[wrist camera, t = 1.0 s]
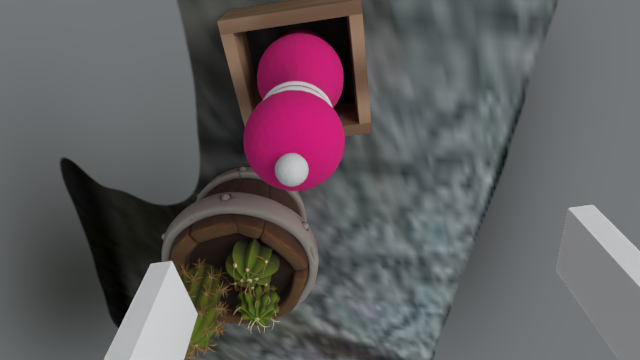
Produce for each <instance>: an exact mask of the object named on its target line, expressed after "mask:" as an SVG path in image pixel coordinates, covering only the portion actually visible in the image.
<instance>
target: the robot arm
mask: <svg viewBox="0 0 640 360" xmlns="http://www.w3.org/2000/svg"><path fill="white" fill-rule="evenodd" d="M556 272H557V273H558V275H559V276H560V277H561V279H562V280H563V282H564V283H565V284H566V286H567V287H568V289H569V290H570V292H571V293H572V294H573V296H574V297H575V299H576V300H577V302H578V303H579V305H580V306H581V307H582V309H583V310H584V312H585V313H586V314H587V316H588V317H589V319H590V320H591V322H592V323H593V324H594V326H595V327H596V328H597V330H598V332H599V333H600V334H601V336H602V337H603V339H604V340H605V341H606V343H607V344H608V346H609V347H610V348H611V350H612V351H613V353H614V354H615V356H616V357H617V359H618V360H640V251H639V250H638V249H637V248H636V247H635V246H634V245H633V244H632V243H631V242H630V241H629V240H628V239H627V238H626V237H625V236H624V235H623V234H622V233H621V232H620V231H619V230H618V229H617V228H616V227H615V226H614V225H613V224H612V223H611V222H610V221H609V220H608V219H607V218H606V217H605V216H604V215H603V214H602V213H601V212H600V211H599V210H598V209H597V208H596V207H595V206H594V205H587V206H580V207H573V208H568V211H567V215H566V220H565V225H564V231H563V235H562V241H561V245H560V250H559V256H558V260H557V266H556ZM197 315H198V313H197V311H196V309H195V307H194V305H193V303H192V301H191V299H190V297H189V295H188V293H187V291H186V289H185V286H184V284H183V282H182V280H181V278H180V276H179V274H178V272H177V270H176V268H175V266H174V264H173V262H172V261H167V262H160V263H152V264H150V266H149V268H148V270H147V272H146V274H145V276H144V278H143V281H142V283H141V285H140V287H139V289H138V291H137V293H136V295H135V297H134V299H133V301H132V303H131V305H130V307H129V309H128V311H127V313H126V315H125V317H124V319H123V321H122V323H121V325H120V328H119V330H118V332H117V334H116V336H115V338H114V340H113V342H112V344H111V346H110V348H109V350H108V352H107V354H106V356H105V358H104V360H184V358H185V355H186V352H187V348H188V345H189V342H190V338H191V335H192V332H193V329H194V325H195V322H196V319H197Z"/></svg>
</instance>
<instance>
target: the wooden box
mask: <svg viewBox="0 0 640 360" xmlns="http://www.w3.org/2000/svg"><path fill="white" fill-rule="evenodd" d="M344 16H346V18H347V28H348V38H349V49H350V59H351V69H352V79H353V89H354V99H355V103H348V104H341V105H335V106H334V107H333V109H334V110H335V111H336V113H337V115H338V117H339V118H340V120H341V122H342V126H343V129H344V135H345V136H351V135H359V134H366V133H372V129H371V116H370V104H369V91H368V78H367V66H366V53H365V40H364V27H363V15H362V2H361V0H289V1H282V2H276V3H269V4H263V5H257V6H250V7H244V8H237V9H231V10H228V11H227V12H226V13H225V14H224V15H223V16H222V17H221V18H220V19H219V20H218V21H217V24H218V28H219V32H220V36H221V39H222V43H223V47H224V51H225V55H226V58H227V62H228V66H229V70H230V73H231V77H232V81H233V85H234V89H235V92H236V96H237V100H238V104H239V108H240V111H241V115H242V119H243V123H244V126H245V125H246V123H247V121H248V118H249V116H250V114H251V113H252V112H253V110H254V109H255V108H256V106H257V105H258V104H259V103H260V102H262V101H261V96H260V93H259V90H258V86H257V79H256V75H255V70H254V66H253V62H252V57H251V53H250V49H249V44H248V40H247V36H246V31H251V30H258V29H265V28H271V27H278V26H284V25H291V24H298V23H304V22H311V21H318V20H324V19H331V18H338V17H344Z"/></svg>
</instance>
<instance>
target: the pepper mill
mask: <svg viewBox="0 0 640 360" xmlns="http://www.w3.org/2000/svg"><path fill="white" fill-rule="evenodd" d="M343 80H344V75H343V67H342V64H341V61H340V59H339V57H338V55H337V53H336V52H335V51H334V49H333V48H332V47H331V45H330V44H329V43H328V41H327V40H326V39H325V38H324V37H323V36H321V35H320V34H318V33H316V32H314V31H311V30H307V29H295V30H291V31H288V32H286V33H284V34H283V35H281V36H280V37H279V38H278V39H277V40H276V41H274V42H273V43H272V44H271V45H270V46H269V47H268V48H267V49H266V50H265V52H264V53H263V55H262V57H261V59H260V62H259V66H258V71H257V86H258V90H259V93H260V96H261V98H262V100H263V101H262V102H260V103H259V104H258V105H257V106H256V108H255V109H254V110H253V112H252V113H251V114H250V116H249V118H248V121H247V123H246V125H245V130H244V144H243V145H244V151H245V155H246V157H247V160H248V162H249V164H250V166H251V167H252V169H253V170H254V172H255V173H256V174H257V175H258V176H259V177H260V178H261V179H262V180H263V181H265V182H266V183H268V184H270V185H271V186H273V187H276V188H279V189H282V190H288V191H302V190H307V189H311V188H313V187H315V186H317V185H320V184H321V183H323V182H324V181H325V180H327V179H328V178H329V177H330V176H331V175H332V174H333V173H334V171H335V170H336V169H337V167H338V165H339V163H340V161H341V158H342V156H343V152H344V145H345V135H344V129H343V126H342V122H341V120H340V118H339V117H338V115H337V113H336V111H335V110H334V109H333V107H334V106H335V105H336V103H337V102H338V100H339V98H340V96H341V93H342V89H343Z"/></svg>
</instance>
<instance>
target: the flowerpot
mask: <svg viewBox="0 0 640 360" xmlns="http://www.w3.org/2000/svg"><path fill="white" fill-rule="evenodd" d="M306 222H307V219H306V211H305V207H304V204H303V201H302V199H301V196H300V194H299V193H298V191H288V190H282V189H279V188H276V187H273V186H271V185H270V184H268V183H266V182H265V181H263V180H262V179H261V178H260V177H259V176H258V175H257V174H256V173H255V172H254V170H253V169H252V167H240V168H235V169H231V170H229V171H226V172H224V173H222V174H220V175H219V176H217V177H216V178H214V179H213V180H212V181H211V182H210V183H209V184H208V185H207V186H205V188H204V189H203V190H202V191H201V192H200V193H199V194H198V195H197V200H196V202H195V203H193V204H191V205H190V206H188V207H187V208H185V209H184V210H183V211H182V212H181V213H180V214H179V215H178V216H177V217H176V218H175V219H174V220H173V221H172V223H171V224H170V225H169V227H168V229H167V232H165V233H163V234H162V239H163V240H164V242H163V246H162V262H167V261H172V262H173V264H174V266H175V268H176V270H177V272H178V274H179V276H180V278H181V280H182V282H183V284H184V286H185V289H186V291H187V293H188V295H189V297H190V299H191V301H192V303H193V305H194V307H195V309H196V311H197V313H198V315H197V319H196V322H195V325H194V329H193V332H192V335H191V338H190V342H189V345H188V348H187V352H186V355H187V354H188V357H187V356H186V355H185V357H186V358H188V360H190V358H191V357H193V356H192V355H193V353H194V350H196V352H197V357H198V356H199V355H198V351H197V350H200V351H204V350H203V349H205V347H206V350H208V351H209V349H210V348H209V347H208V346H207V345H209V343H208V342H209V341H210V337H211V335H212V334H213V333H214V332H215V331H216V333H217V334H218V332H221V331H222V332H223V331H227V330H221V329H220V328H222V327H220V322H222V324H223V323H233V324H241V323H249V325H248V329H249V327H250V326H251V328H252V326H253V324H254V323H255V324H256V325H257V327H258V325H259V324H260V325H261V326H263V327H264V332H265V327H266V326H265V324H266V322H269V321H273V327H274V320H273V319H276V318H277V317H278V316H283V315H286V314H287V313H289V312H290V311H291V310H293V308H294V307H295V306H296V305H298V304H299V303H301V302H302V301H303V300H304V299H305V298H306V297H307V296H308V294H309V292H310V291H311V289H312V287H314V286H315V279H316V275H317V270H318V262H319V260H318V249H317V244H316V240H315V237H314V235H313V233H312V230H311V229H310V227H309V224H308V223H306ZM217 320H218V322H219V324H218V323H217ZM275 322H280V321H275ZM217 324H218V325H217ZM222 324H221V325H222ZM218 326H219V327H220V328H219V327H218ZM223 327H224V326H223ZM238 327H239V326H238ZM269 327H270V326H269ZM246 329H247V328H246ZM272 329H273V328H272ZM219 330H221V331H219ZM258 330H259V327H258ZM249 331H250V330H249ZM222 332H221V333H222ZM259 332H260V330H259ZM223 333H224V332H223ZM223 333H222V334H223ZM260 333H261V332H260ZM223 336H224V335H223ZM211 340H212V339H211ZM211 342H212V341H211ZM215 345H216V344H214V345H209V346H215ZM203 347H204V348H203ZM200 348H201V349H202V348H203V349H202V350H201V349H200ZM207 348H208V349H207ZM206 350H205V353H206ZM210 350H211V349H210ZM211 351H213V350H211ZM191 352H192V353H191ZM213 352H215V351H213ZM205 353H204V354H205ZM191 354H192V355H191ZM189 355H191V356H190V357H189ZM203 356H204V355H203ZM193 358H194V357H193ZM184 359H185V358H184ZM194 359H197V358H194ZM198 360H199V359H198Z"/></svg>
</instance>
